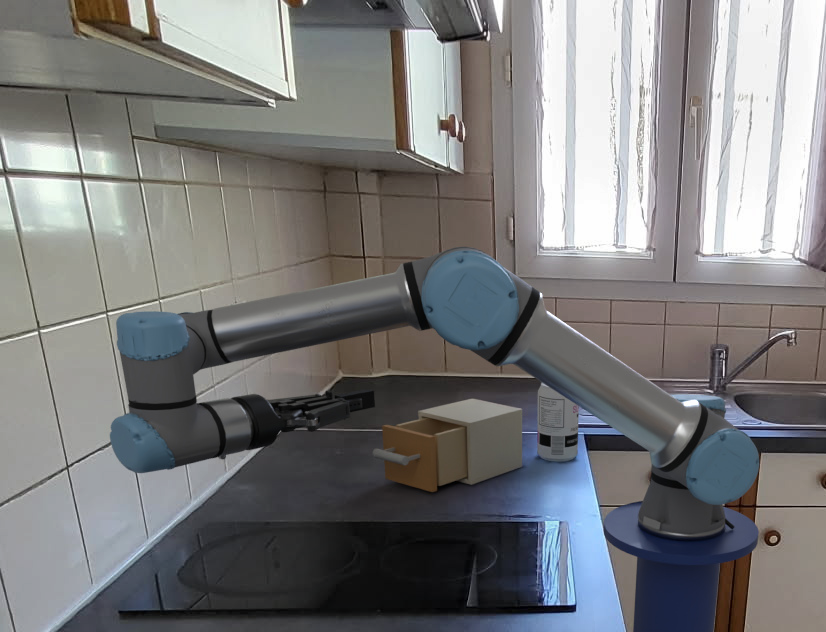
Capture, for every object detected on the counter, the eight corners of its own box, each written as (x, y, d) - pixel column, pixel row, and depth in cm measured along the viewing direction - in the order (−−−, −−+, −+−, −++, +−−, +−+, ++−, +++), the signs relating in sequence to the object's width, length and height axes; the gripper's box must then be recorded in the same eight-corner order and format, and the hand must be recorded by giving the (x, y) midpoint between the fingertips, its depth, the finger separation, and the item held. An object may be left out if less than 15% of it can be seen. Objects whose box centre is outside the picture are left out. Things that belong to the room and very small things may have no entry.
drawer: (413, 498, 139) (410, 442, 136) (365, 484, 144) (361, 430, 141) (484, 474, 154) (483, 422, 150) (439, 462, 159) (437, 412, 155)
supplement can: (531, 453, 171) (531, 381, 166) (568, 449, 175) (570, 379, 170) (545, 464, 165) (546, 389, 159) (583, 460, 169) (585, 387, 163)
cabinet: (471, 485, 150) (469, 422, 146) (420, 471, 156) (417, 411, 152) (522, 466, 162) (522, 408, 158) (473, 454, 168) (472, 398, 164)
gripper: (212, 442, 119) (345, 413, 138) (271, 459, 113) (401, 427, 132) (205, 390, 116) (341, 369, 135) (265, 405, 110) (399, 381, 129)
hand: (371, 398), depth 134 cm, fingers closed
